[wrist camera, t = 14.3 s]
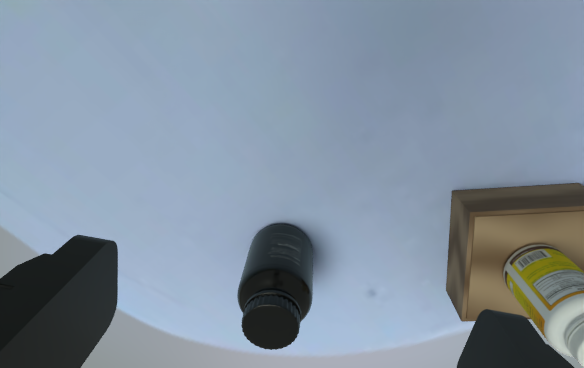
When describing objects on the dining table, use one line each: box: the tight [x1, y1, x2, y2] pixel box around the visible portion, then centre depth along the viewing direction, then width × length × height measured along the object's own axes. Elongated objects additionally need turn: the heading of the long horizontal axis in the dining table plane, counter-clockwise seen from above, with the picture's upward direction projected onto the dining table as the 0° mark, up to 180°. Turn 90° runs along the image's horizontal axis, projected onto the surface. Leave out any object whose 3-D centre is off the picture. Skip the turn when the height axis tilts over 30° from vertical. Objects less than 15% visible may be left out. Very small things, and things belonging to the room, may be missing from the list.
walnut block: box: [446, 183, 584, 321], centre depth 38 cm, size 12×12×5 cm
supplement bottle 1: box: [238, 224, 313, 350], centre depth 37 cm, size 7×7×12 cm
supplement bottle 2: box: [503, 244, 584, 367], centre depth 31 cm, size 6×6×10 cm
